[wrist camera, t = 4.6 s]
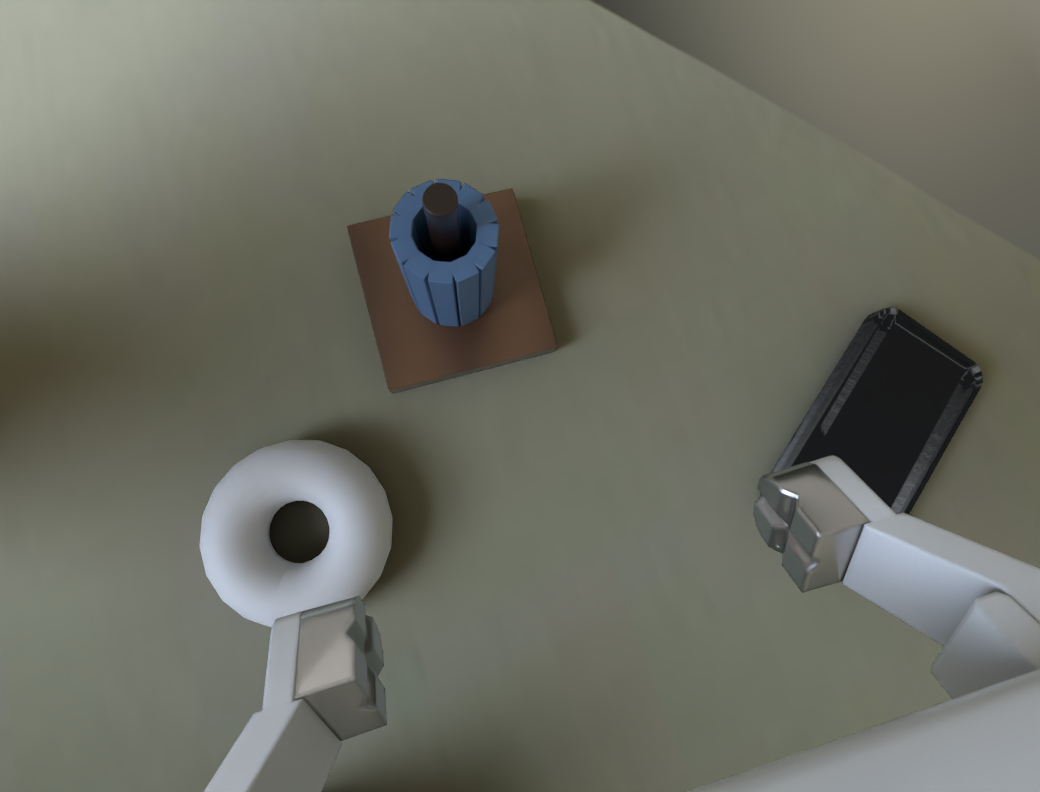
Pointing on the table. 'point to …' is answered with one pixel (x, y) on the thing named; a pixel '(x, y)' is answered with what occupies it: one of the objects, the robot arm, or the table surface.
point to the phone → (889, 407)
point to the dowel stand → (464, 349)
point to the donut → (250, 509)
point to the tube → (441, 284)
